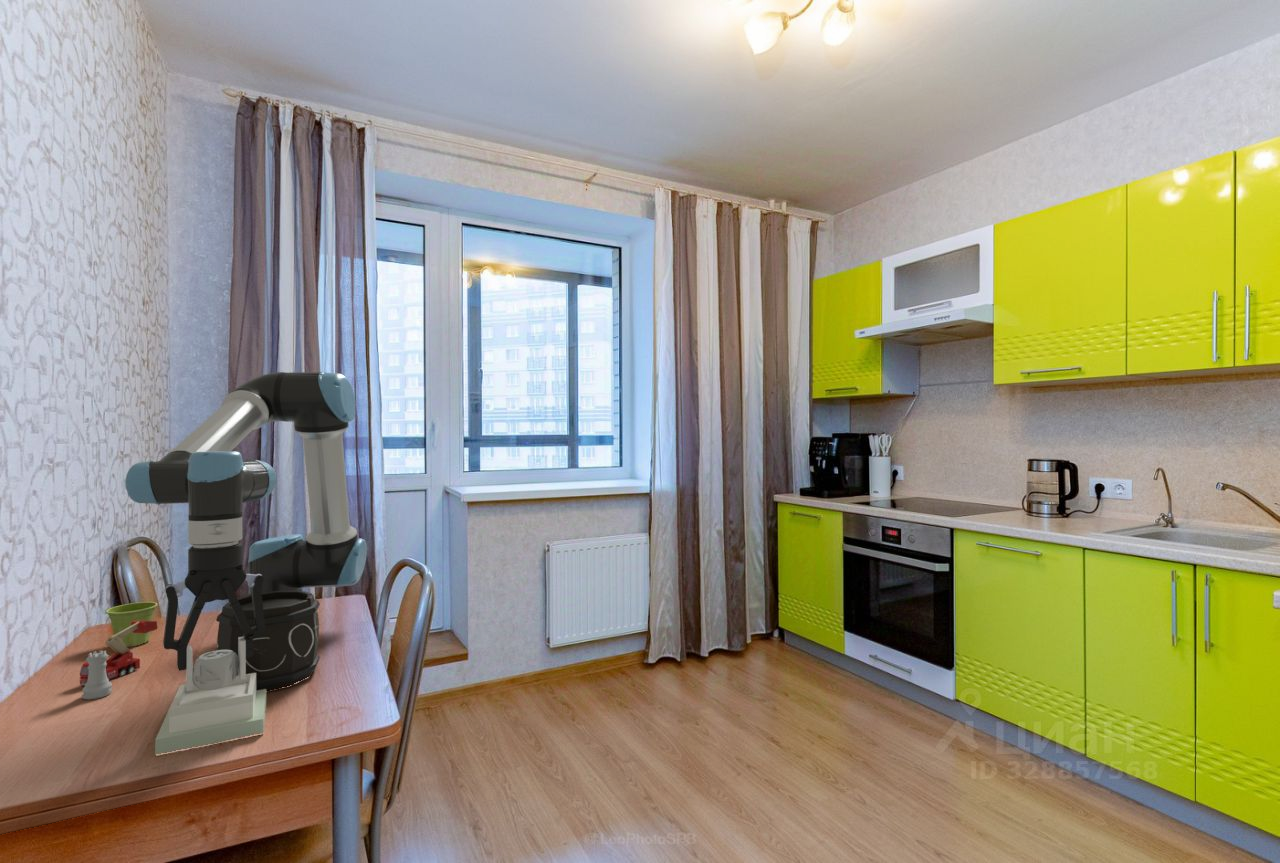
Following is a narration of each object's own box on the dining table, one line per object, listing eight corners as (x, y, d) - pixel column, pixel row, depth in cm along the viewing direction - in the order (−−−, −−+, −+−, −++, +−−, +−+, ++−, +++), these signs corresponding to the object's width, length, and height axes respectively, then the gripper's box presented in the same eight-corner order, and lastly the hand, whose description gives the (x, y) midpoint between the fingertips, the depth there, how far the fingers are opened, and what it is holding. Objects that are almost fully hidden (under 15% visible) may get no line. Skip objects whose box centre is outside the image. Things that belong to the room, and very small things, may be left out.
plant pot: (116, 653, 141) (116, 614, 141) (99, 646, 146) (99, 609, 146) (164, 641, 149) (164, 605, 149) (147, 635, 154) (147, 599, 154)
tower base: (266, 705, 114) (266, 668, 114) (263, 737, 102) (263, 695, 102) (170, 723, 107) (170, 683, 107) (155, 759, 95) (155, 714, 95)
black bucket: (340, 673, 128) (340, 595, 129) (245, 704, 114) (245, 616, 114) (294, 656, 139) (294, 584, 139) (201, 682, 124) (202, 602, 124)
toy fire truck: (76, 687, 122) (76, 637, 122) (145, 662, 135) (145, 617, 135) (90, 688, 121) (90, 638, 121) (157, 663, 135) (157, 618, 135)
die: (226, 689, 103) (226, 658, 103) (191, 691, 102) (191, 660, 102) (239, 677, 108) (239, 648, 108) (206, 680, 107) (206, 650, 107)
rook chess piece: (114, 695, 118) (114, 652, 118) (83, 702, 115) (83, 658, 115) (110, 688, 121) (110, 647, 121) (79, 696, 118) (79, 653, 118)
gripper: (141, 554, 96) (141, 706, 96) (286, 540, 108) (286, 675, 108) (140, 547, 102) (140, 690, 101) (278, 535, 114) (279, 662, 114)
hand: (216, 682), depth 105 cm, fingers closed on die, 7 cm apart
